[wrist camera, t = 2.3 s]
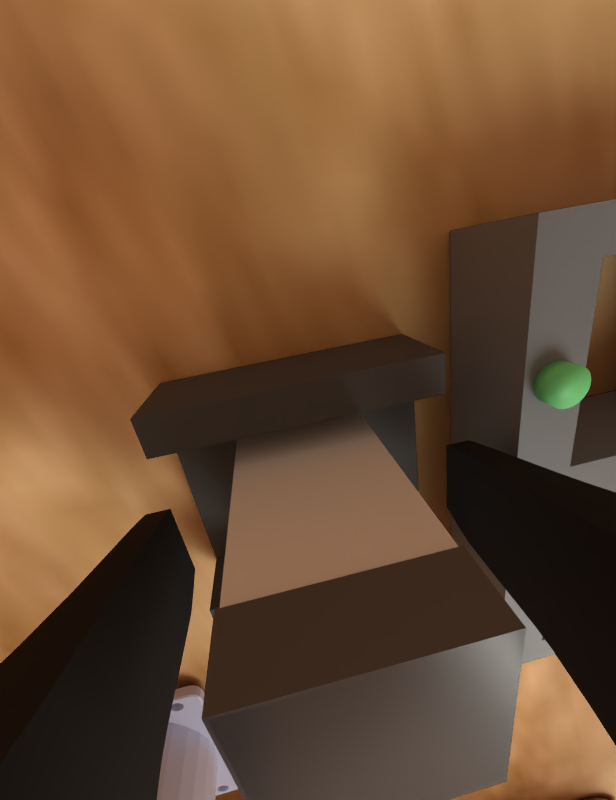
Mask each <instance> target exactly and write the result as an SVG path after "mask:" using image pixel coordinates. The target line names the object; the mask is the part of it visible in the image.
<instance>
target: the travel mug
mask: <svg viewBox="0 0 616 800" xmlns="http://www.w3.org/2000/svg"><path fill="white" fill-rule="evenodd" d="M584 800H608V799H605V798H591V799H584Z"/></svg>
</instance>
